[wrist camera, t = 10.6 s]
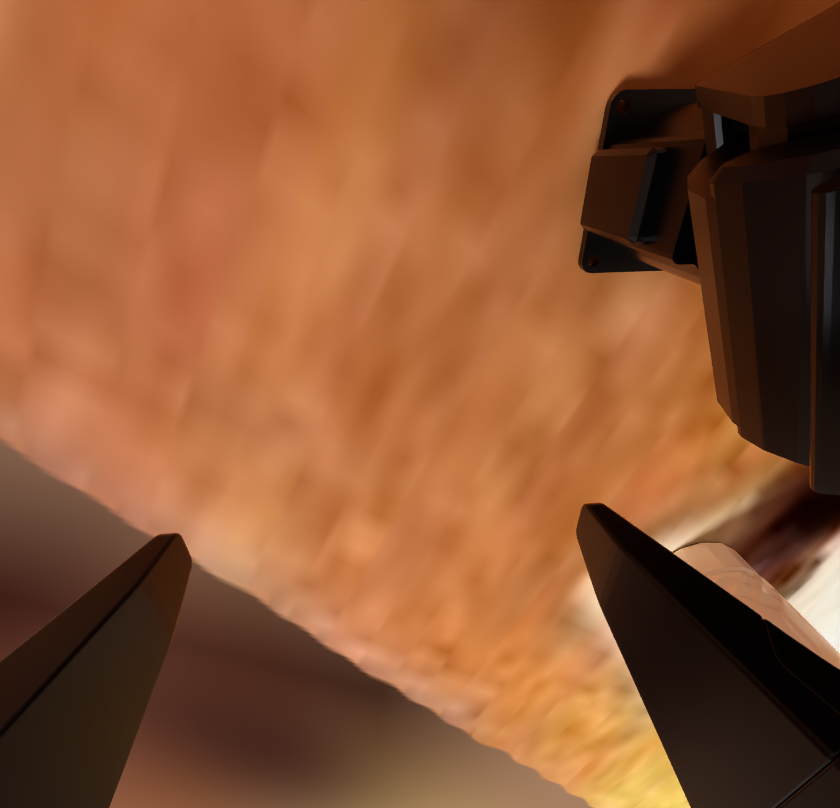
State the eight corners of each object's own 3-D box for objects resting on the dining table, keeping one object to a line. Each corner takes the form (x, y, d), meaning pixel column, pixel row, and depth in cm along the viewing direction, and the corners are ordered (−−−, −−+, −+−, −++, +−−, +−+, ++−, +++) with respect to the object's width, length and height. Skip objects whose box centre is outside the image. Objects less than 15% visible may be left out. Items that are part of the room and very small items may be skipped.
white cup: (717, 518, 28) (863, 674, 20) (759, 566, 32) (900, 717, 23) (619, 576, 31) (711, 736, 22) (667, 615, 34) (764, 768, 25)
